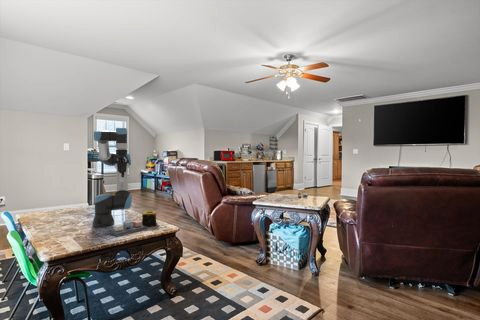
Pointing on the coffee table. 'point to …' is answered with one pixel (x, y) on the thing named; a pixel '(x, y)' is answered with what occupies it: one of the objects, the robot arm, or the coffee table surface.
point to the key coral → (137, 223)
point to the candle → (149, 218)
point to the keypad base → (127, 230)
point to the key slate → (128, 224)
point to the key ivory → (118, 227)
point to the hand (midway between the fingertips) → (122, 181)
